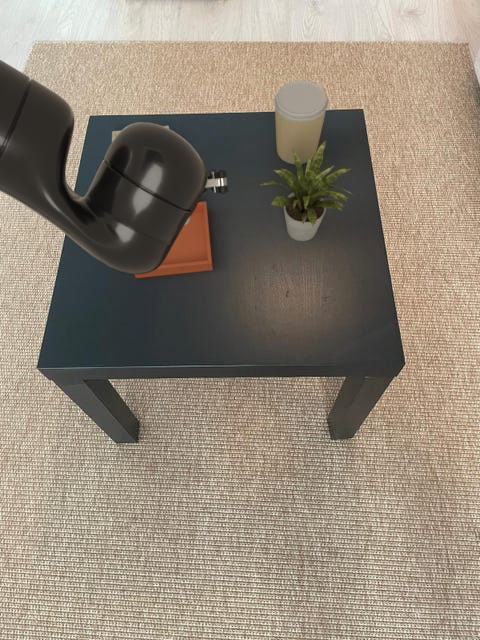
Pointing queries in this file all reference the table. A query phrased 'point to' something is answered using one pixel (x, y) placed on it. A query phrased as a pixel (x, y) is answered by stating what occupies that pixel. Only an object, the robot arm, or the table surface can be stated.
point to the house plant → (308, 196)
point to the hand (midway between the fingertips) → (176, 183)
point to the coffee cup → (299, 119)
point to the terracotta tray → (188, 247)
